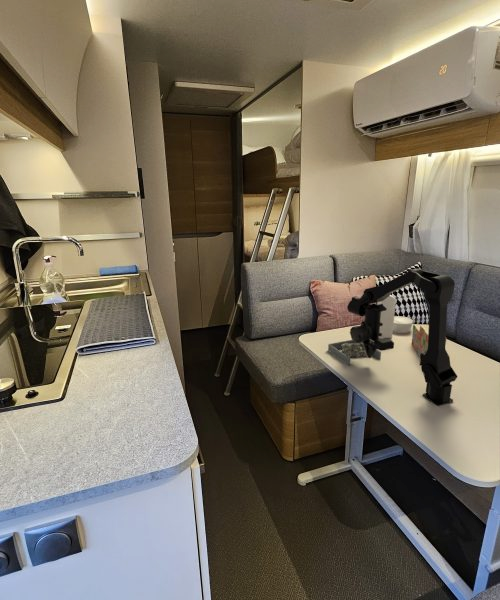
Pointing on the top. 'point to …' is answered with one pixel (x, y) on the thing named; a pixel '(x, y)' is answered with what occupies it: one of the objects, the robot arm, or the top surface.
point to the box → (334, 350)
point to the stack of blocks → (420, 338)
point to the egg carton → (354, 349)
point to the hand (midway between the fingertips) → (369, 357)
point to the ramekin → (402, 324)
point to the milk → (387, 317)
